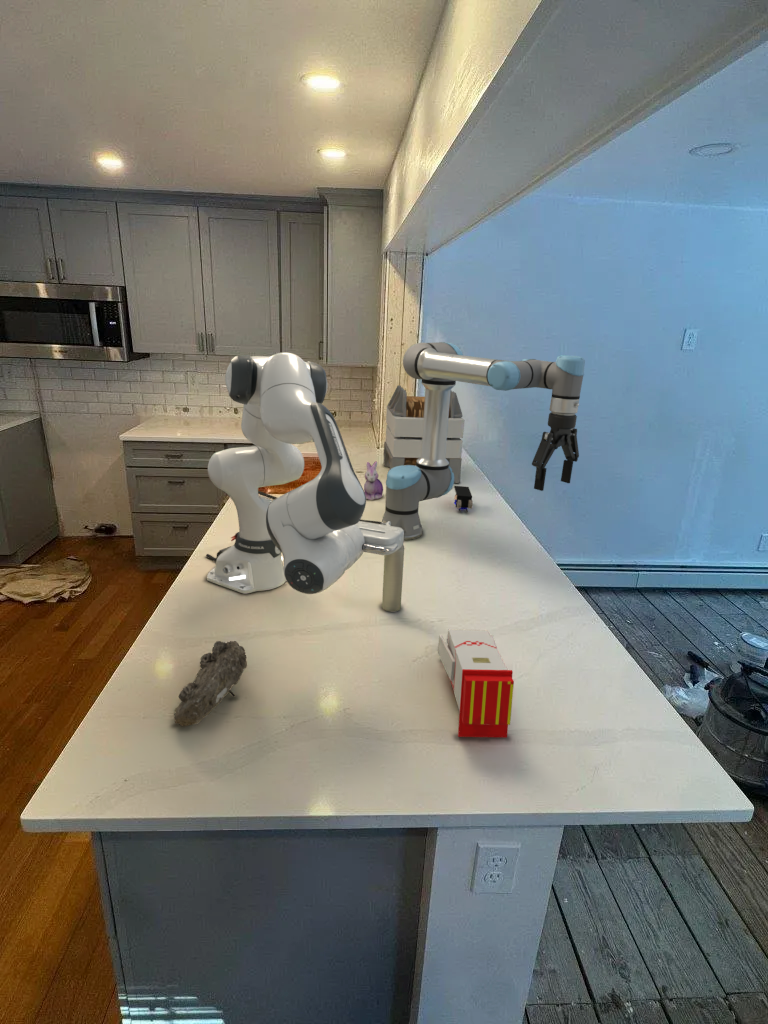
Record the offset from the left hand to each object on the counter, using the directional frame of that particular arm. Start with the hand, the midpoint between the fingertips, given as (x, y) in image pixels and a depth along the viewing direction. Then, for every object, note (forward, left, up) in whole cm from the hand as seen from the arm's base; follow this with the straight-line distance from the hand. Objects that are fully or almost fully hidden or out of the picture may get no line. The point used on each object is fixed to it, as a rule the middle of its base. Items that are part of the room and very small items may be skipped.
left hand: (366, 520), depth 121 cm
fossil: (-21, -26, -32) cm, 47 cm away
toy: (+26, -6, -32) cm, 42 cm away
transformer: (-29, +151, -32) cm, 157 cm away
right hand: (+35, +60, -4) cm, 70 cm away
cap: (0, +22, -10) cm, 24 cm away
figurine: (-37, +106, -32) cm, 117 cm away
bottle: (0, +22, -32) cm, 39 cm away
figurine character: (+1, +109, -32) cm, 113 cm away
